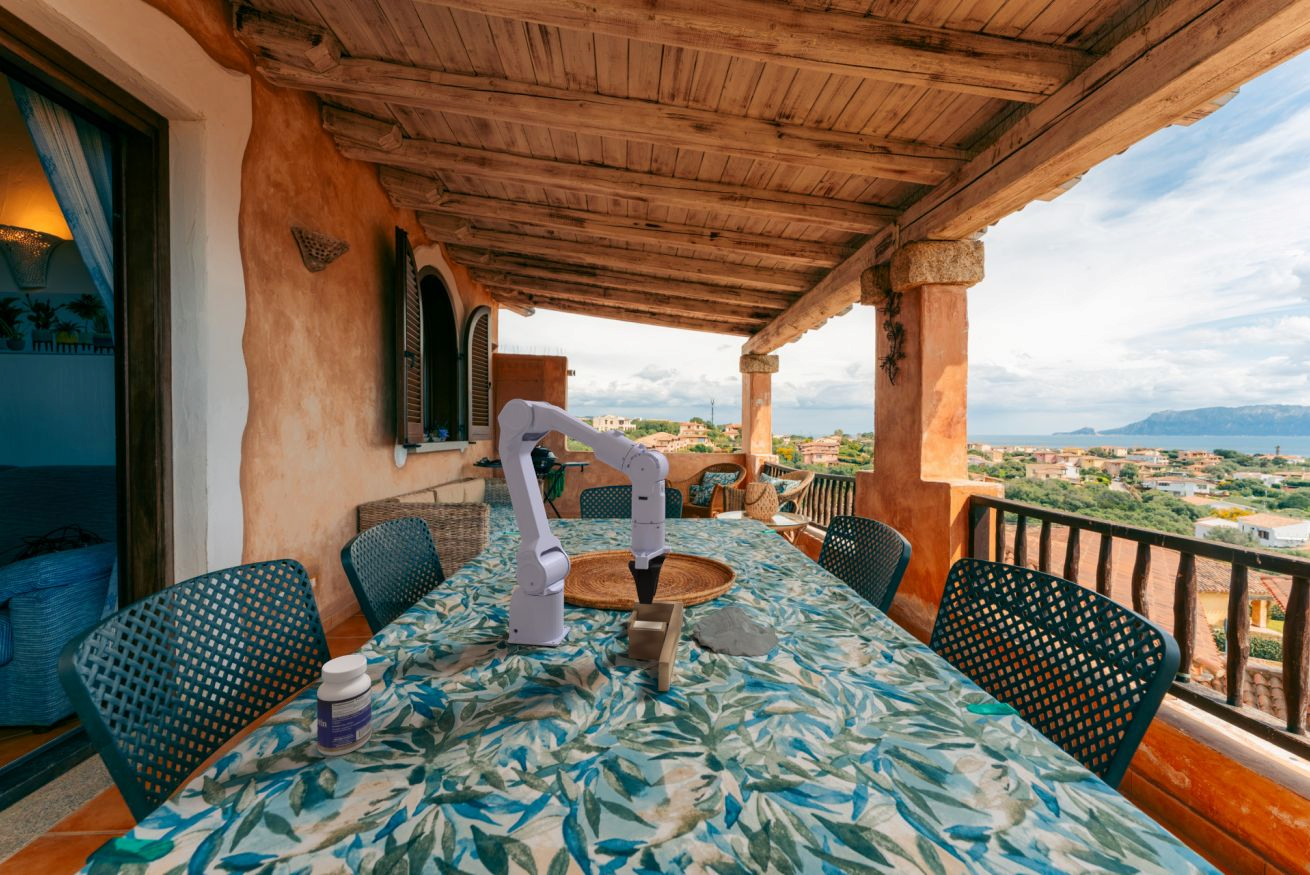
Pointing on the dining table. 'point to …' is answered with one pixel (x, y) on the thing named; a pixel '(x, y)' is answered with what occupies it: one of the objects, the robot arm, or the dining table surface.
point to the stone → (734, 633)
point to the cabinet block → (646, 639)
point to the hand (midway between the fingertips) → (647, 599)
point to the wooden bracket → (674, 617)
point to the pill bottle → (344, 706)
